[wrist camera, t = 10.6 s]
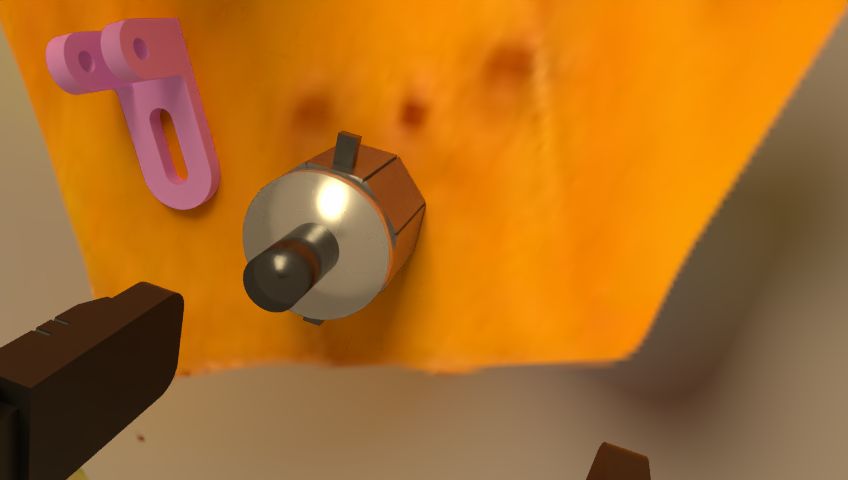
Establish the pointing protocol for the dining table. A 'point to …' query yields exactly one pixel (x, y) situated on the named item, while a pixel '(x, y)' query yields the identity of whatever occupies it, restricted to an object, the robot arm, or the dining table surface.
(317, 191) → the lid
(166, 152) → the bracket
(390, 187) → the pot
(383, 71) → the dining table surface
